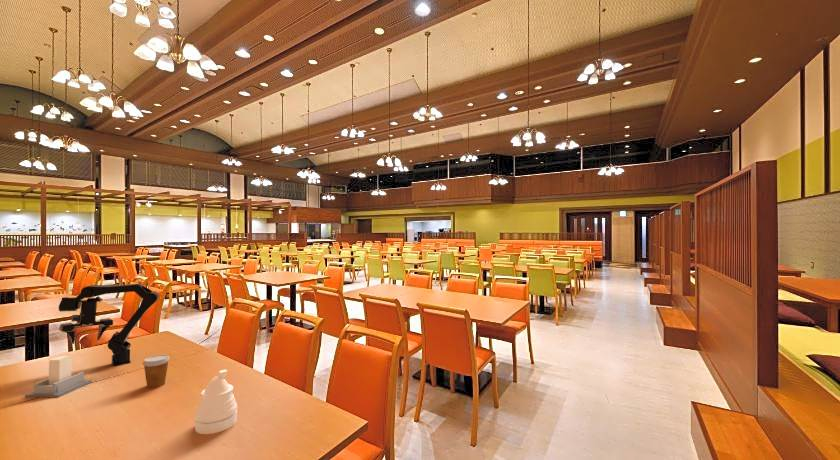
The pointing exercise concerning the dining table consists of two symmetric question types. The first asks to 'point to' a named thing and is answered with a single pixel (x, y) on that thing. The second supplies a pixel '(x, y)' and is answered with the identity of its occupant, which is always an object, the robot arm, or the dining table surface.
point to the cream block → (60, 368)
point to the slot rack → (58, 386)
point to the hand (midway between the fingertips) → (85, 341)
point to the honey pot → (216, 407)
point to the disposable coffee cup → (156, 370)
